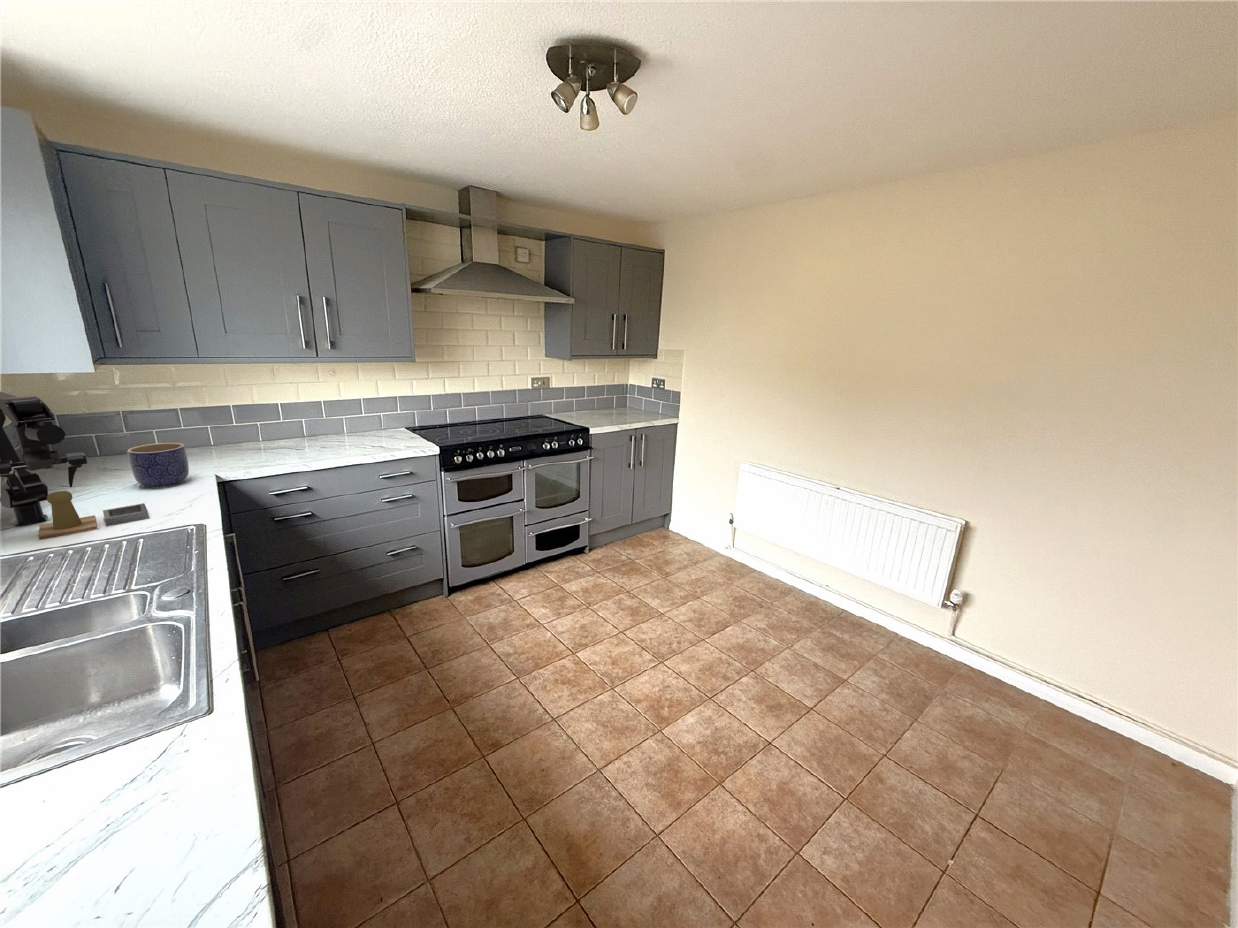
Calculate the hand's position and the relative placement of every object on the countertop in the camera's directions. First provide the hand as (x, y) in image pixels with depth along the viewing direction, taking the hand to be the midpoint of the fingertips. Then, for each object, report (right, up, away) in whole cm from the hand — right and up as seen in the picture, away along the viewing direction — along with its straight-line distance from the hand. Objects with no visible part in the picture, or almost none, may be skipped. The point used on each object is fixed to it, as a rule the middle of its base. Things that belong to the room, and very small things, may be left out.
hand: (48, 490), depth 149 cm
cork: (+1, -11, +4) cm, 12 cm away
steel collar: (+10, -10, +14) cm, 20 cm away
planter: (-8, 0, +46) cm, 47 cm away
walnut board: (+1, -12, +4) cm, 13 cm away
